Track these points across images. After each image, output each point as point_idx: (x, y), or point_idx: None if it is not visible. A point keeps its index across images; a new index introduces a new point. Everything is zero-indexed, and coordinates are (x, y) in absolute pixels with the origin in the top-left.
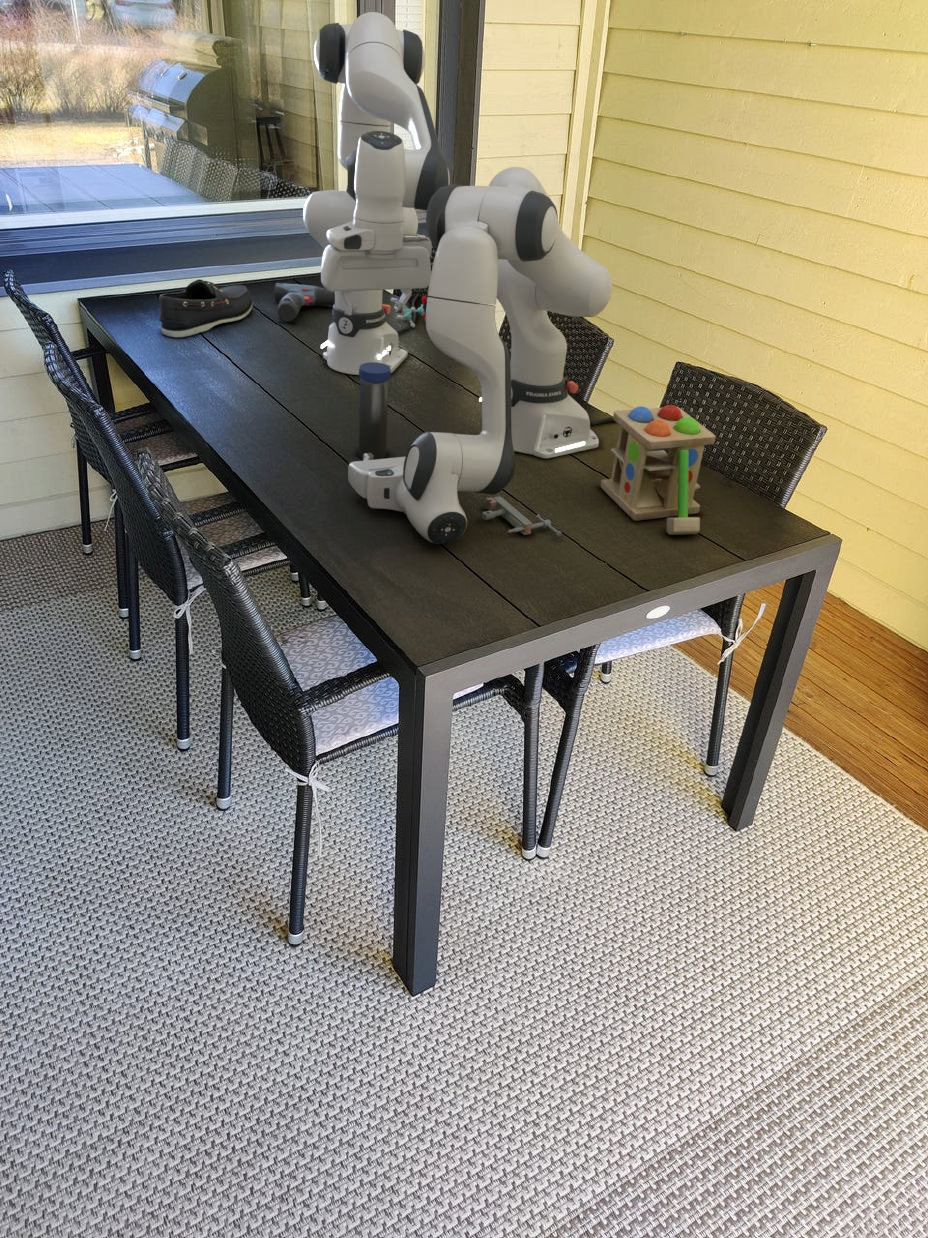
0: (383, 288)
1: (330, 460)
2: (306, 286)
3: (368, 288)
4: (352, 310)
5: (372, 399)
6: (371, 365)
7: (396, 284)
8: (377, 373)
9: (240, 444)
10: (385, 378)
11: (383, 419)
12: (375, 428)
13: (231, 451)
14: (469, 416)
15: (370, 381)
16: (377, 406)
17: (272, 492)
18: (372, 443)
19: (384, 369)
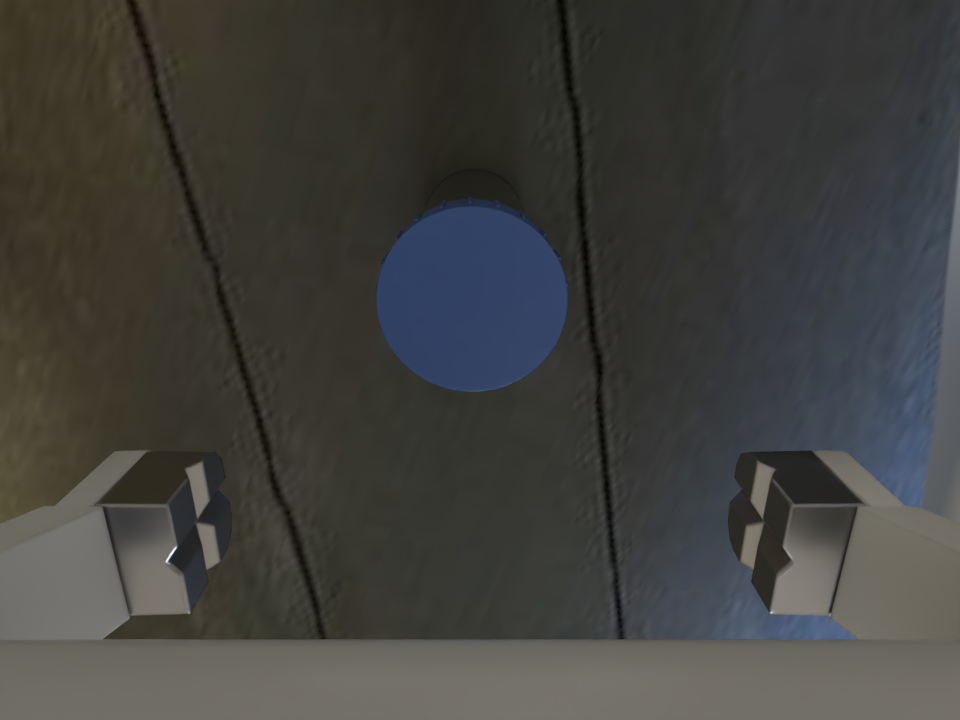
0: (392, 641)
1: (628, 212)
2: None
3: (768, 656)
4: (827, 469)
5: (505, 202)
6: (480, 342)
7: (12, 712)
8: (491, 207)
9: (850, 394)
10: (435, 209)
11: (446, 189)
12: (484, 181)
13: (899, 354)
14: (43, 430)
15: (526, 217)
16: (479, 190)
17: (923, 10)
18: (492, 178)
19: (424, 263)
